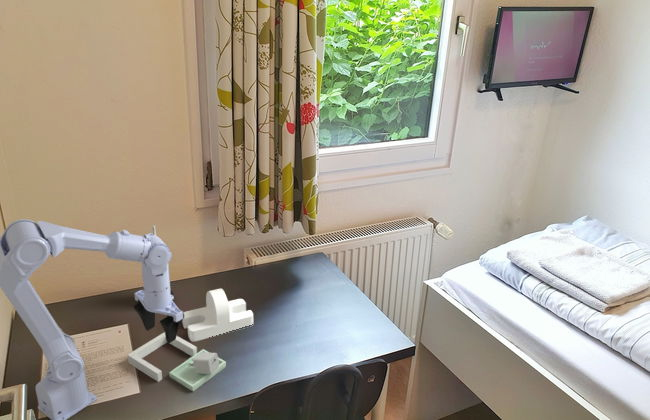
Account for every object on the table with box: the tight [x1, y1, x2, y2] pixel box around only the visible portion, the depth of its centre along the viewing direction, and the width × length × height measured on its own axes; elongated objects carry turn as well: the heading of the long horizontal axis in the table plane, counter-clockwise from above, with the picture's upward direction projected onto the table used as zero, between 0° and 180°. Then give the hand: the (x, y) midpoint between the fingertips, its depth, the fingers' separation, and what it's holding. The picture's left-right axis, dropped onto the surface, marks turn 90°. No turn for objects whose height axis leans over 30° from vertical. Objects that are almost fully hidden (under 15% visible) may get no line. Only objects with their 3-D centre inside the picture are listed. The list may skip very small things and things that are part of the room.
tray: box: [169, 348, 227, 393], centre depth 127 cm, size 11×8×2 cm
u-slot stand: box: [181, 287, 254, 342], centre depth 143 cm, size 10×18×11 cm, turn 119°
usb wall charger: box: [187, 351, 219, 374], centre depth 126 cm, size 4×7×4 cm, turn 72°
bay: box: [127, 331, 198, 383], centre depth 130 cm, size 12×11×2 cm
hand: (160, 334), depth 124 cm, fingers open, 7 cm apart
